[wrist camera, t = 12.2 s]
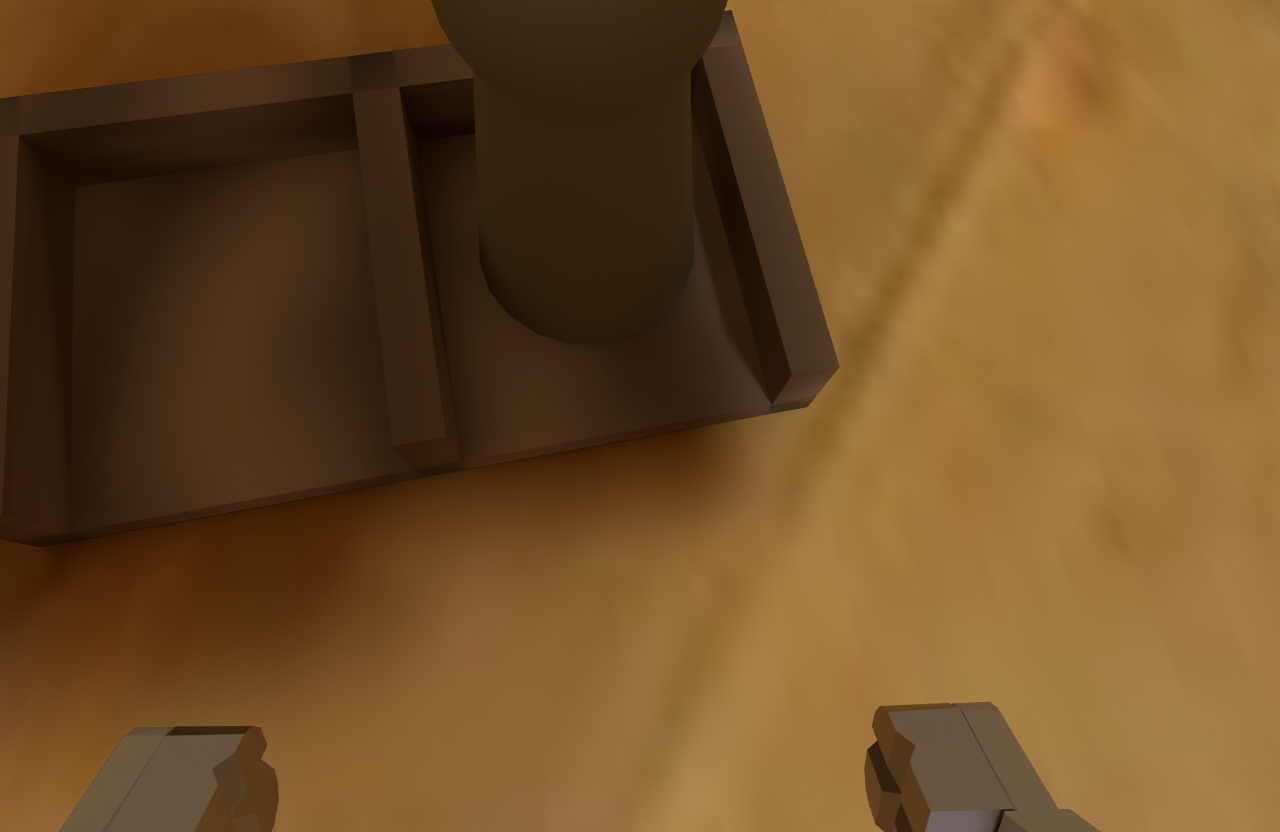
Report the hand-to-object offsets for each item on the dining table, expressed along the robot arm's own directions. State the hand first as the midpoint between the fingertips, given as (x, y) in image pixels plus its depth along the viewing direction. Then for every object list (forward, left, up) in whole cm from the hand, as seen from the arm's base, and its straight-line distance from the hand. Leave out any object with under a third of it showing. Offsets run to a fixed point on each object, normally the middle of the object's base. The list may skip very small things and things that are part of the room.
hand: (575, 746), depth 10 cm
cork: (-2, -12, -8) cm, 15 cm away
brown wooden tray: (+3, -12, -9) cm, 15 cm away
